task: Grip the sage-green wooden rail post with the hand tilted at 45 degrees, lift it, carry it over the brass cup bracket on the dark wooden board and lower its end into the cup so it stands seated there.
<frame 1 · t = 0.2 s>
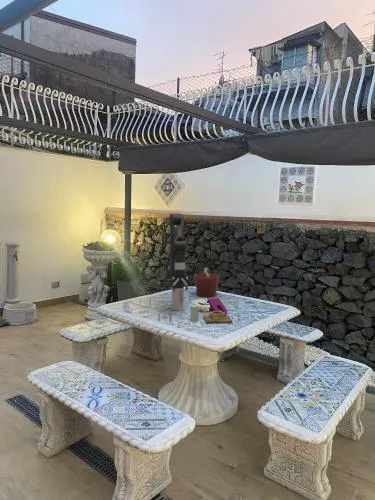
hand: (180, 290, 272), 18 cm above the table, tool pointing down, fingers open, 8 cm apart
cup bracket: (217, 320, 261), on the table
rail post: (194, 320, 261), on the table
mounting bracket: (217, 313, 280), on the table
bucket: (205, 295, 334), on the table
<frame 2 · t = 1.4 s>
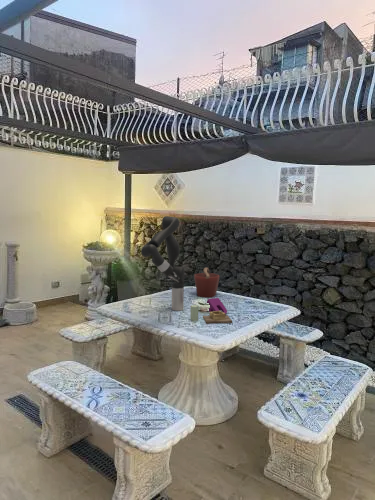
hand: (179, 283, 255), 27 cm above the table, tool tilted 45°, fingers open, 8 cm apart
nothing on the table moved.
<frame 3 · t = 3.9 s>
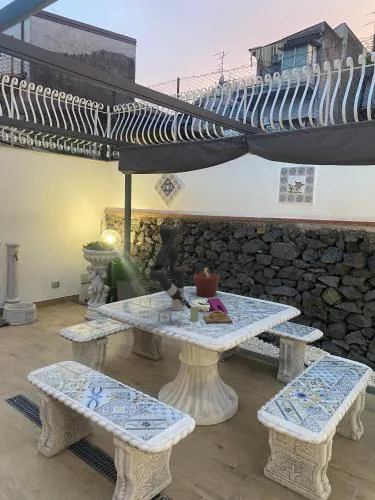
hand: (187, 306, 257), 10 cm above the table, tool tilted 45°, fingers open, 8 cm apart
nothing on the table moved.
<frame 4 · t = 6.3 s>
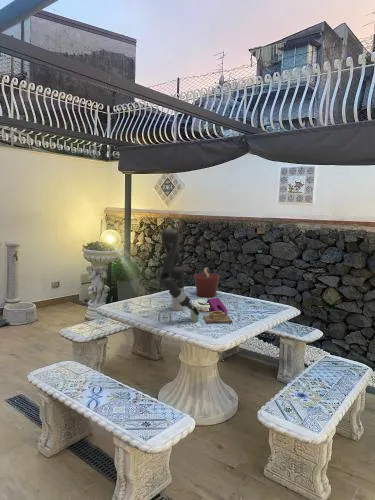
hand: (196, 313, 261), 5 cm above the table, tool tilted 45°, fingers closed on rail post, 4 cm apart
rail post: (194, 320, 261), on the table, touching gripper
everything else where it was.
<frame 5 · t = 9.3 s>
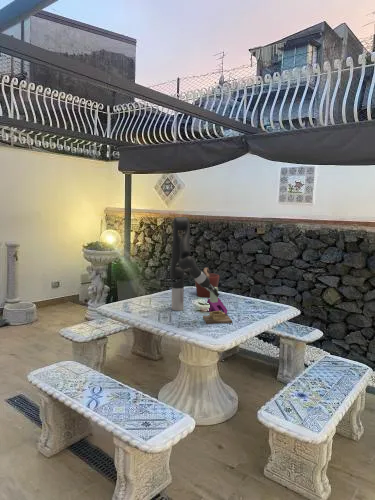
hand: (216, 295, 259), 18 cm above the table, tool tilted 45°, fingers closed on rail post, 4 cm apart
rail post: (213, 301, 259), point 13 cm above the table, touching gripper
everything else where it was.
when the fingers open (7 cm above the table, at t = 12.5 s): rail post drops 1 cm, resting on cup bracket.
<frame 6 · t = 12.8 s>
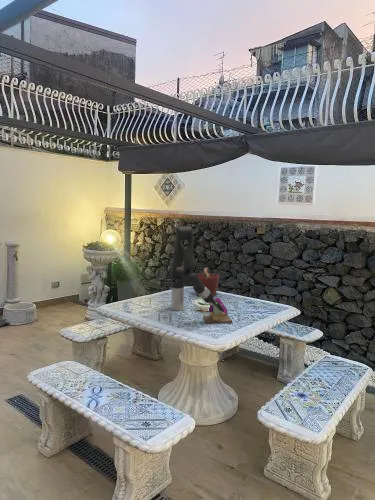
hand: (219, 309, 261), 8 cm above the table, tool tilted 45°, fingers open, 6 cm apart
rail post: (217, 318, 261), point 2 cm above the table, touching cup bracket
everything else where it was.
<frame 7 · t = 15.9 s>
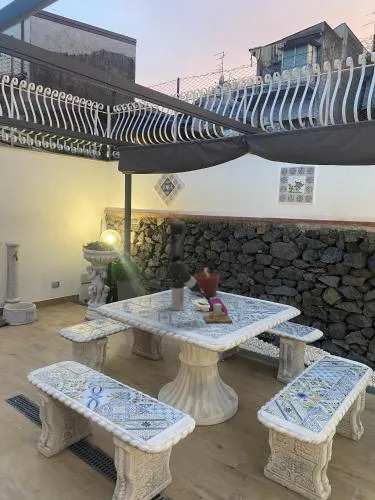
hand: (206, 298, 255), 17 cm above the table, tool tilted 45°, fingers open, 8 cm apart
nothing on the table moved.
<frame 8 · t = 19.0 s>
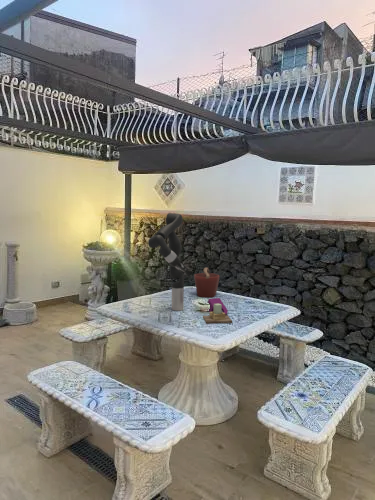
hand: (186, 273, 257), 33 cm above the table, tool tilted 45°, fingers open, 8 cm apart
nothing on the table moved.
at the end: rail post 0.0 cm off-centre on the cup bracket, point 1.5 cm above the cup bracket's base; rail post tilted 0°; the gripper is holding nothing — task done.
